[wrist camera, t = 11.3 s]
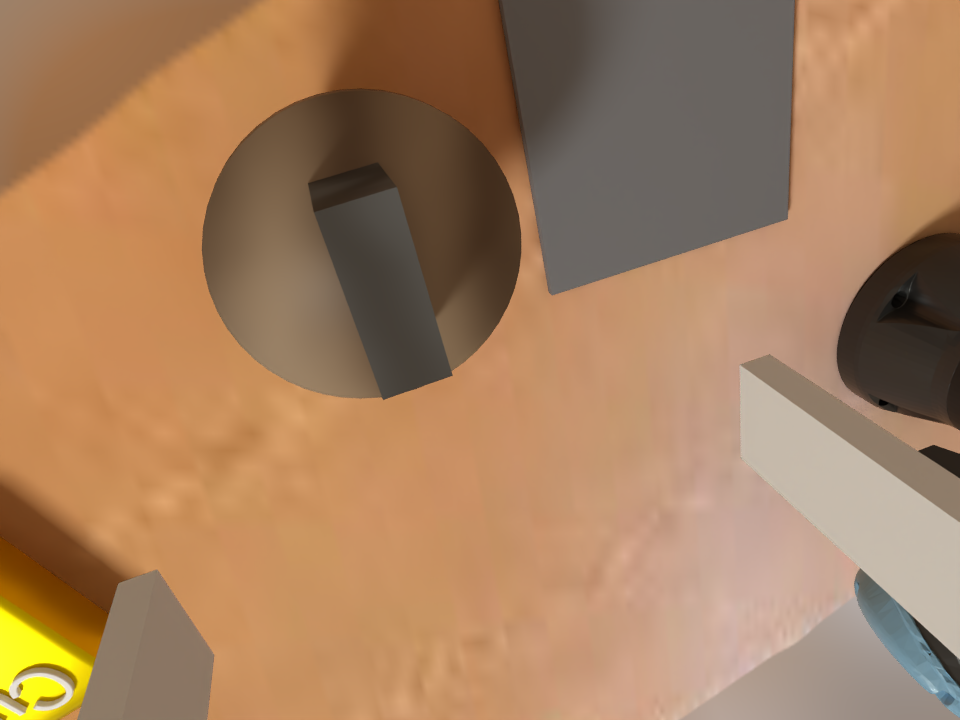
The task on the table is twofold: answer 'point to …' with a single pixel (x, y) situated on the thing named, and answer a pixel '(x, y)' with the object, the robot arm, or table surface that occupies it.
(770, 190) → the mat
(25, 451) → the table surface
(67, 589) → the element tile
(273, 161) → the lid
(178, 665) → the robot arm
